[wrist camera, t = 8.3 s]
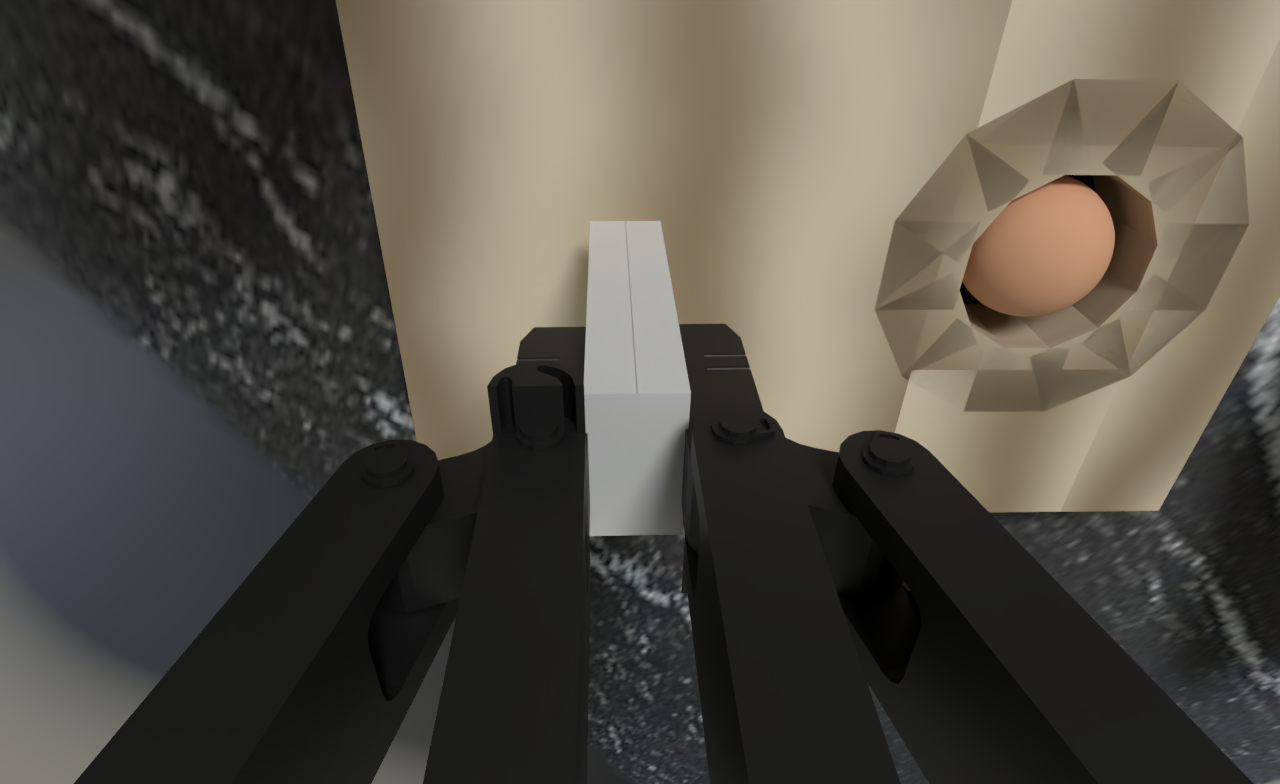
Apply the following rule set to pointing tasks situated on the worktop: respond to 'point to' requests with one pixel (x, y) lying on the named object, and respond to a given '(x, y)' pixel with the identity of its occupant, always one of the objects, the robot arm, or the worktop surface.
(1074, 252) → the ball
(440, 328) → the board
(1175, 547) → the worktop surface
